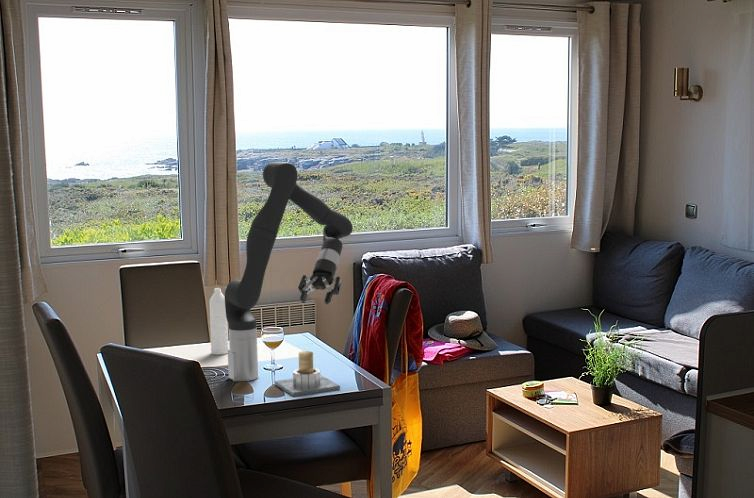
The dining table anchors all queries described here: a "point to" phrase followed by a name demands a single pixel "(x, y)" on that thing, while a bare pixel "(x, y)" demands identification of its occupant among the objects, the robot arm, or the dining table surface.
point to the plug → (305, 362)
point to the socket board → (306, 383)
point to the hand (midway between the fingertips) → (314, 302)
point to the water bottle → (218, 323)
